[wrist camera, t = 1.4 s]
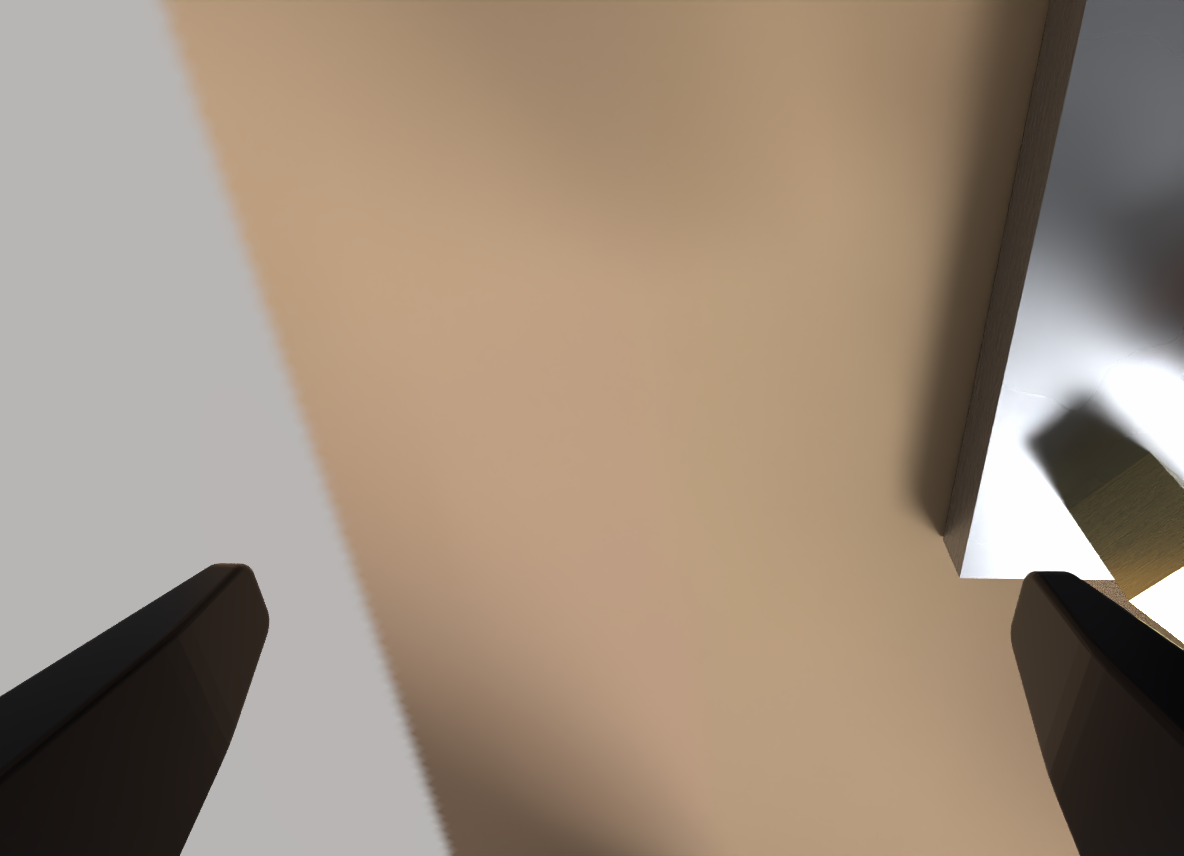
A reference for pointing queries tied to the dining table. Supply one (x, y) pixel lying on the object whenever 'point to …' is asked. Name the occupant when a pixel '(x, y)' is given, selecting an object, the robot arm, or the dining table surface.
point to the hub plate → (1087, 323)
